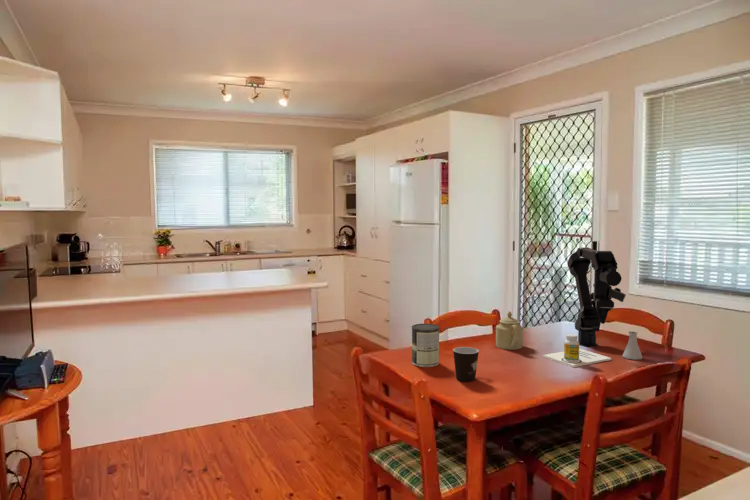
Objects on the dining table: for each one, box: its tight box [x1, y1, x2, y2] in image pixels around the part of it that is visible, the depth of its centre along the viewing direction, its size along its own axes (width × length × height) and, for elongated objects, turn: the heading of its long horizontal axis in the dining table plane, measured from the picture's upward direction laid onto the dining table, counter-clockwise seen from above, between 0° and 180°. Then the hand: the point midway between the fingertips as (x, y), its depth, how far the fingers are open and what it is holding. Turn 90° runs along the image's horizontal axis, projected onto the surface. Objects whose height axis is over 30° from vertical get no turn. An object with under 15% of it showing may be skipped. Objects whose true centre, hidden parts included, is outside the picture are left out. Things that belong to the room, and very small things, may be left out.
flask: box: [622, 331, 643, 361], centre depth 202 cm, size 7×7×10 cm
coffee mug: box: [452, 346, 480, 383], centre depth 179 cm, size 12×9×10 cm
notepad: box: [542, 348, 612, 368], centre depth 202 cm, size 15×20×1 cm
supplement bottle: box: [563, 333, 580, 362], centre depth 196 cm, size 5×5×10 cm
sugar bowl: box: [495, 311, 524, 351], centre depth 218 cm, size 15×11×15 cm
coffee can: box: [411, 323, 440, 368], centre depth 196 cm, size 10×10×14 cm
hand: (600, 321), depth 208 cm, fingers open, 9 cm apart
